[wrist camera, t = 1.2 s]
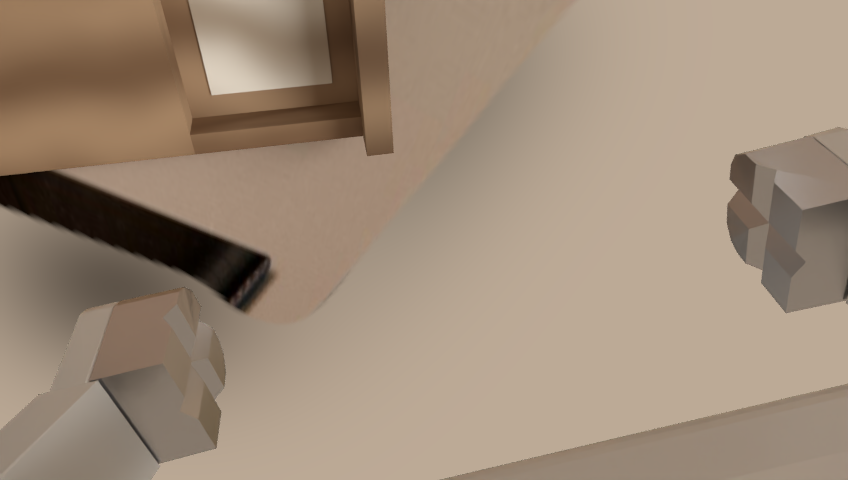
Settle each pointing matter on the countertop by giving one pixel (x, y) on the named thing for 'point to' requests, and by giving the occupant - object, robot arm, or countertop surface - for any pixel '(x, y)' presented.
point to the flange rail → (187, 78)
